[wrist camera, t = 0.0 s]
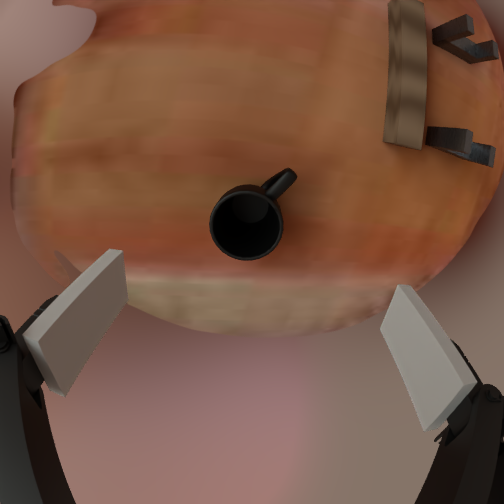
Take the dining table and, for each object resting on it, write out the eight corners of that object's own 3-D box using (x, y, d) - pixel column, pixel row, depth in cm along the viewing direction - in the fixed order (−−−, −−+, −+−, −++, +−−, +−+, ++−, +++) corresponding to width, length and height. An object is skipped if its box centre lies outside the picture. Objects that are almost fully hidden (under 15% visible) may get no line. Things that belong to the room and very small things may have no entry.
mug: (310, 186, 38) (323, 202, 29) (252, 243, 42) (248, 274, 33) (267, 145, 36) (268, 148, 27) (209, 207, 40) (194, 229, 31)
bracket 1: (432, 29, 25) (466, 14, 16) (469, 50, 25) (505, 42, 16) (432, 43, 27) (468, 30, 17) (469, 64, 27) (506, 58, 17)
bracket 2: (427, 126, 33) (466, 129, 24) (465, 142, 33) (504, 150, 24) (425, 144, 34) (463, 151, 25) (462, 159, 34) (501, 170, 25)
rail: (387, 4, 25) (399, -7, 20) (409, 12, 25) (423, 3, 20) (381, 141, 35) (396, 143, 30) (404, 147, 35) (421, 150, 30)
